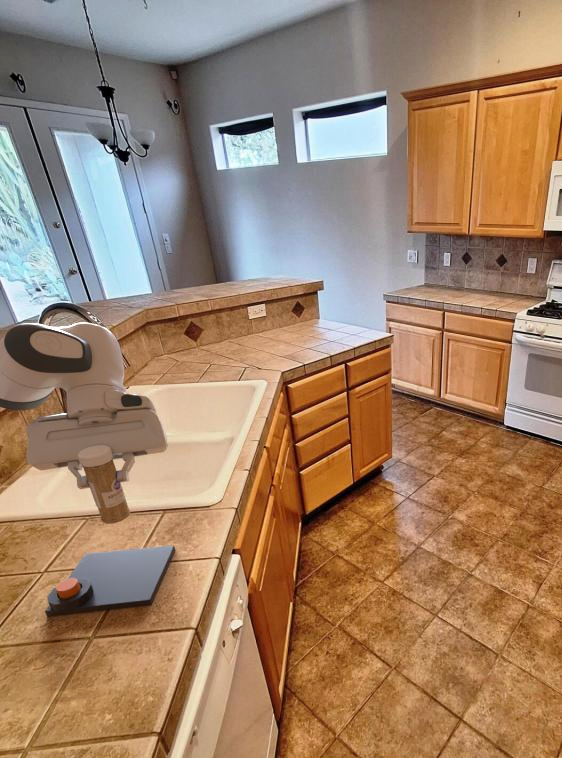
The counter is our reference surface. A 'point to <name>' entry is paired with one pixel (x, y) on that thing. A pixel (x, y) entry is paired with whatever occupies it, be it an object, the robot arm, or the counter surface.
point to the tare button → (68, 588)
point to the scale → (114, 581)
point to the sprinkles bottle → (104, 483)
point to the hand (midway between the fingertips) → (104, 484)
